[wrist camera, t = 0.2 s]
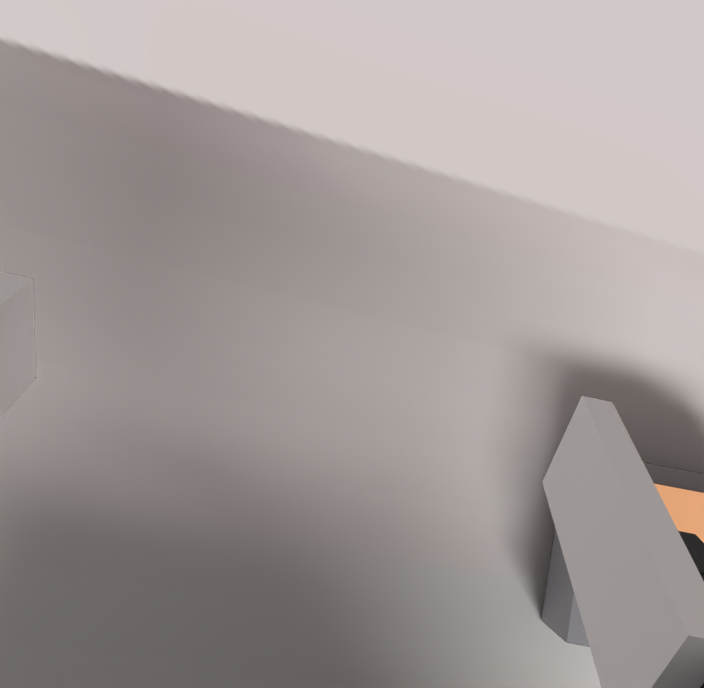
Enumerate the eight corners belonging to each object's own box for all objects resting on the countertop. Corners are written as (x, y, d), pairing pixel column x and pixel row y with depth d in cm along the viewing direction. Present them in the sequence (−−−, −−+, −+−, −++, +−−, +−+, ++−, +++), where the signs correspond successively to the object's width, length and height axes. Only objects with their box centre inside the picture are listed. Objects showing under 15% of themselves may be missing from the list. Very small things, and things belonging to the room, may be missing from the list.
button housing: (705, 649, 31) (747, 674, 28) (541, 620, 31) (566, 642, 28) (726, 479, 32) (769, 486, 29) (566, 449, 32) (594, 452, 29)
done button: (711, 640, 30) (766, 671, 26) (574, 616, 29) (610, 643, 26) (729, 497, 30) (784, 508, 27) (595, 471, 30) (633, 479, 27)
